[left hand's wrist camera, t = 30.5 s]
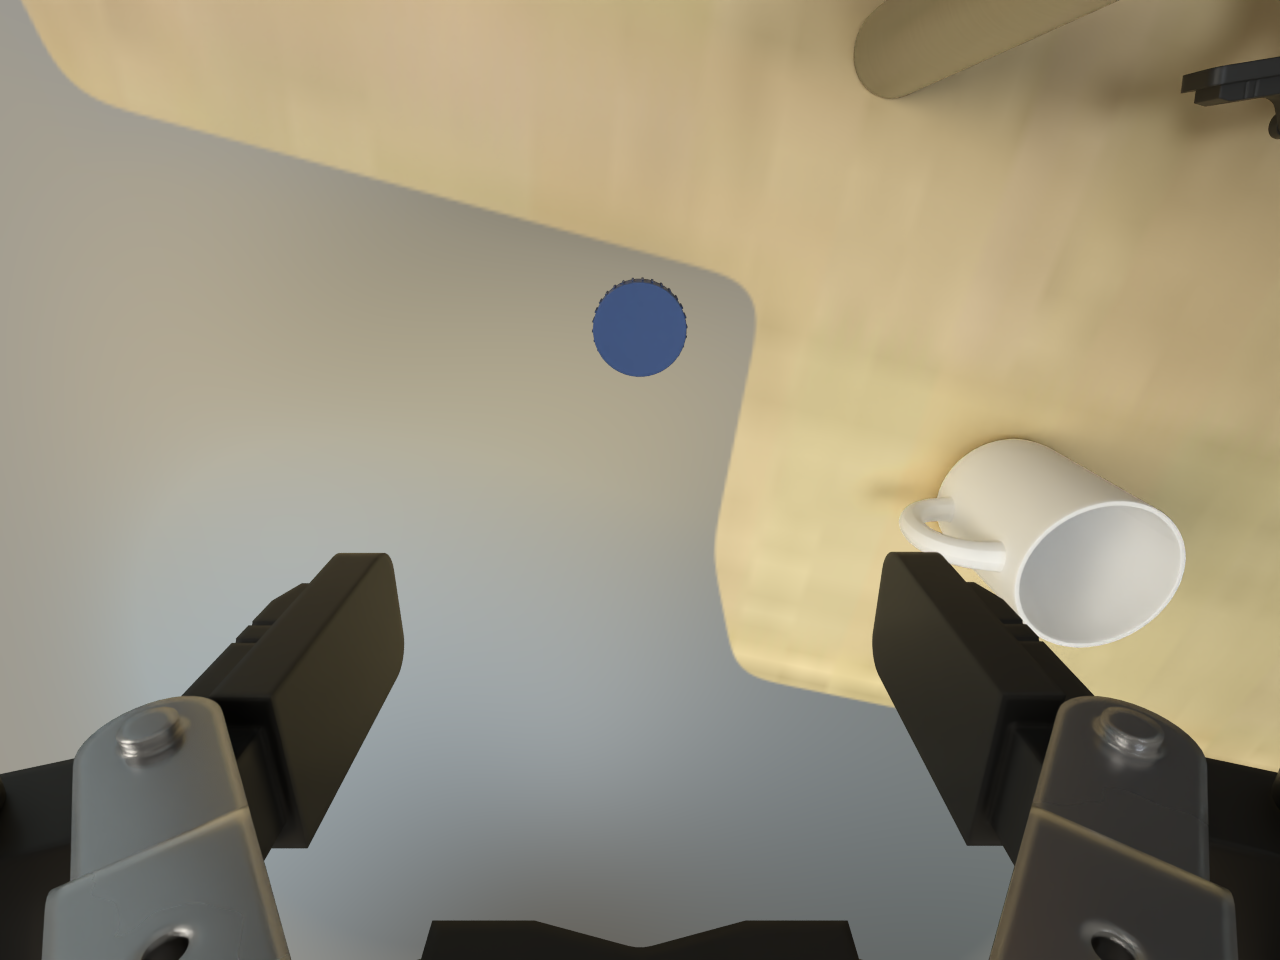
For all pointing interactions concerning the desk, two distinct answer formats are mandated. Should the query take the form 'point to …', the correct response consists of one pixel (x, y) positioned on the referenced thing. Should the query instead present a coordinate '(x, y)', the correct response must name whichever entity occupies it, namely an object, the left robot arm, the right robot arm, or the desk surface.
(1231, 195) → the desk surface
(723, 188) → the desk surface
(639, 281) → the lid
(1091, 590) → the mug
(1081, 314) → the desk surface
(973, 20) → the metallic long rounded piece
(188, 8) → the desk surface
